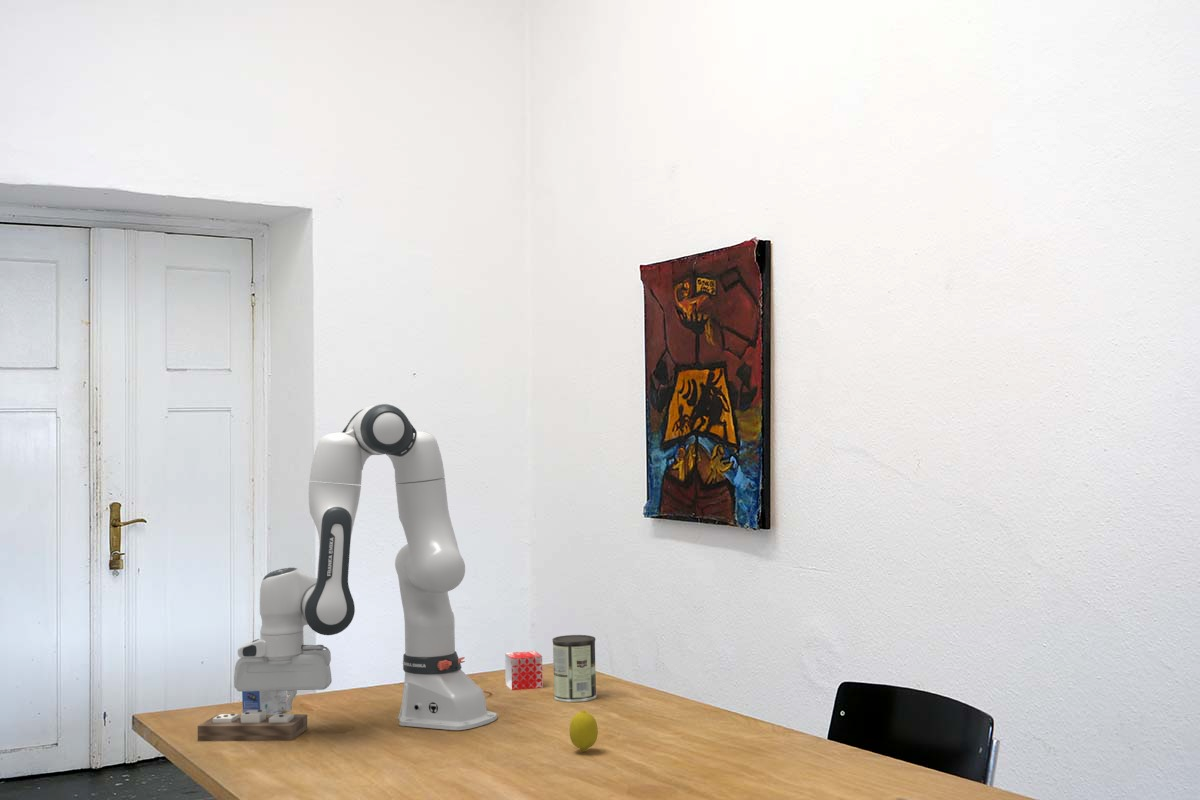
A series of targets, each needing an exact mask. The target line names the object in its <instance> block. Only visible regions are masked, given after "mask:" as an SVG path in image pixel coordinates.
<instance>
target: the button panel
mask: <svg viewBox="0 0 1200 800" xmlns="http://www.w3.org/2000/svg"><path fill="white" fill-rule="evenodd" d="M293 714H294V713H293ZM218 715H219V714H216V715H214V716H212V717H210V718H209V719H207V720H206V721H204V722H202V723H201V724H199V725H197V741H198V742H201V741H202V742H203V741H204V742H206V741H207V742H209V741H210V742H211V741H212V742H213V741H214V742H215V741H216V742H217V741H218V742H219V741H220V742H221V741H223V742H226V741H228V742H231V741H238V742H239V741H240V742H243V741H251V742H252V741H293V740H295V739H296V738H297V737H298V736H300V735H301V734H302V733H304V732H305V731H306V730H307V729H308V713H307V714H304V713H303V714H301V713H300V714H294V719H293V720H291V721H290V722H288V723H269V718H270V717H272V716H273V715H266V719H265V720H264V721H262V722H261V723H241V714H239V719H238V720H236V721H234V722H233V723H213V718H215V717H216V716H218Z"/></svg>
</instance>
